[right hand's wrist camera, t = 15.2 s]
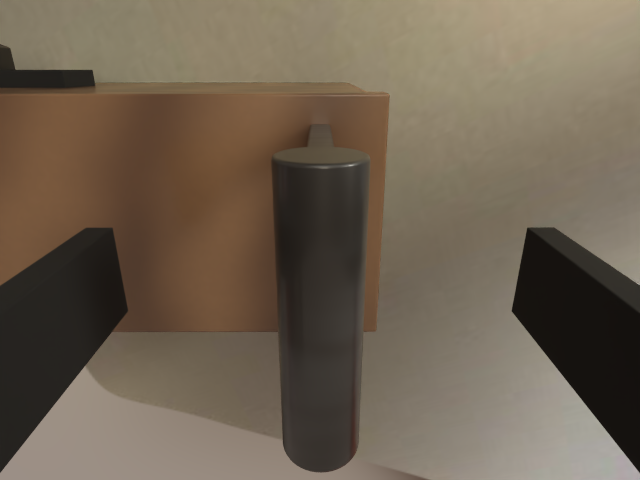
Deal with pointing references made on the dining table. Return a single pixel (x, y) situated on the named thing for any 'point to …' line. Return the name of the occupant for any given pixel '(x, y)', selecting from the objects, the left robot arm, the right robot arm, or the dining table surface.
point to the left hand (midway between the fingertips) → (99, 184)
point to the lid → (219, 224)
